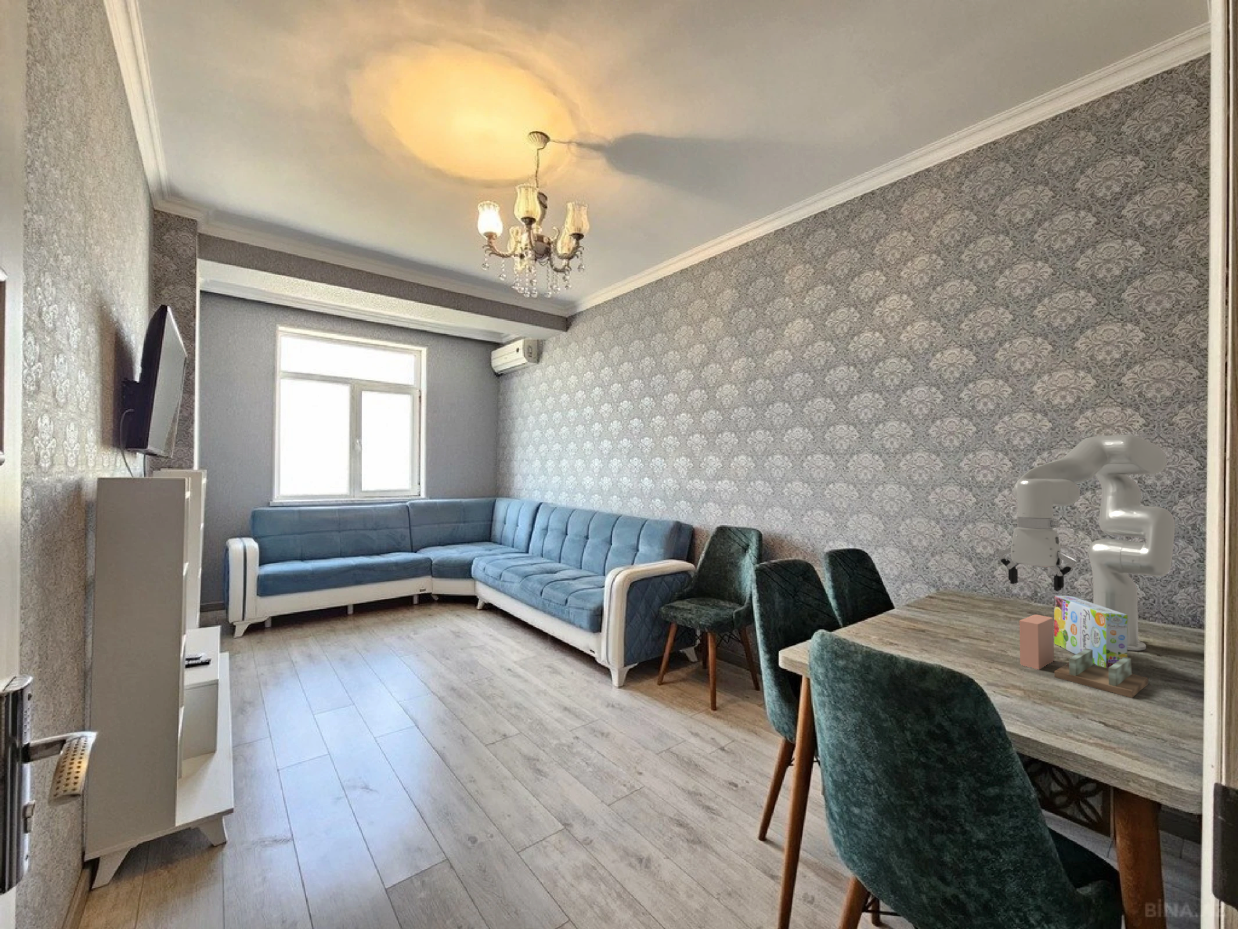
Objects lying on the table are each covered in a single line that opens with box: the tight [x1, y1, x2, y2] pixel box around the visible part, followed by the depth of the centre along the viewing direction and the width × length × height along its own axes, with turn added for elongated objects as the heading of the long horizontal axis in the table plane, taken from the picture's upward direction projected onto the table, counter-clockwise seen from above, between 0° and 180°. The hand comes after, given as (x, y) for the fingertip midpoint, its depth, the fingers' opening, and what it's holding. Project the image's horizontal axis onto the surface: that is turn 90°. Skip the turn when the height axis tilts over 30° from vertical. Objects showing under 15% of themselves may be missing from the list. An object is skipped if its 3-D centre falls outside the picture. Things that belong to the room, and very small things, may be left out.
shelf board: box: [1053, 648, 1149, 699], centre depth 124 cm, size 14×14×6 cm
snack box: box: [1053, 595, 1128, 668], centre depth 140 cm, size 21×6×15 cm, turn 168°
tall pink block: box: [1018, 613, 1055, 671], centre depth 136 cm, size 11×4×12 cm, turn 123°
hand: (1035, 586), depth 136 cm, fingers open, 9 cm apart
